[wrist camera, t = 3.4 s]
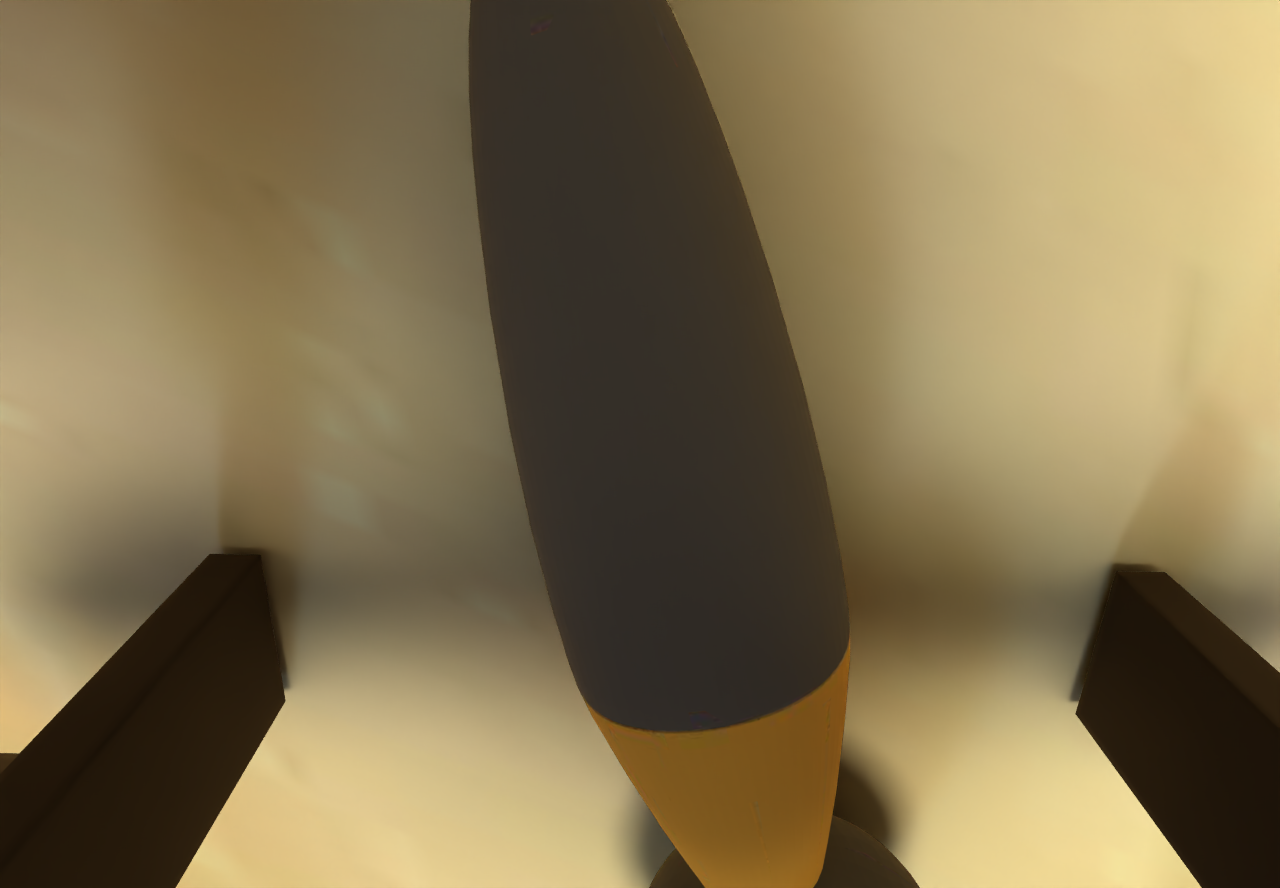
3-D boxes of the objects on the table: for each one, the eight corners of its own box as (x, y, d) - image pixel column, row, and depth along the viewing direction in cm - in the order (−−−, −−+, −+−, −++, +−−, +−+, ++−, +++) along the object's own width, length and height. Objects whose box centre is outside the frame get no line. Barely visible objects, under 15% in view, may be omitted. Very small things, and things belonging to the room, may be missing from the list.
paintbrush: (238, -4, 10) (-129, -100, 5) (647, -160, 9) (664, -431, 4) (703, 1033, 17) (731, 1383, 12) (943, 981, 16) (1066, 1327, 12)
